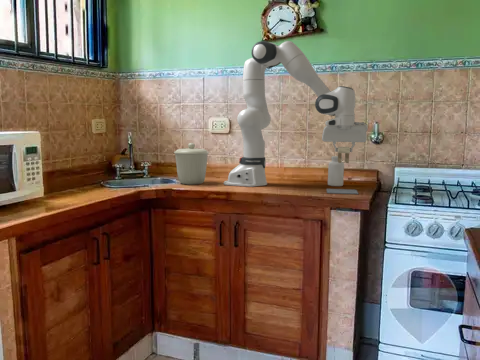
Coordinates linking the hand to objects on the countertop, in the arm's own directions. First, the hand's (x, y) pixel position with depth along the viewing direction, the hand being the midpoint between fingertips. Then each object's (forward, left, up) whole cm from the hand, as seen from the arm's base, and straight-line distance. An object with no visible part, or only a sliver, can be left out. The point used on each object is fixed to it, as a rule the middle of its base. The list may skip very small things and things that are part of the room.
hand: (343, 151), depth 214 cm
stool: (0, 0, -5) cm, 5 cm away
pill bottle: (-2, +22, -19) cm, 29 cm away
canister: (-76, +11, -19) cm, 79 cm away
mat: (0, 0, -19) cm, 19 cm away
